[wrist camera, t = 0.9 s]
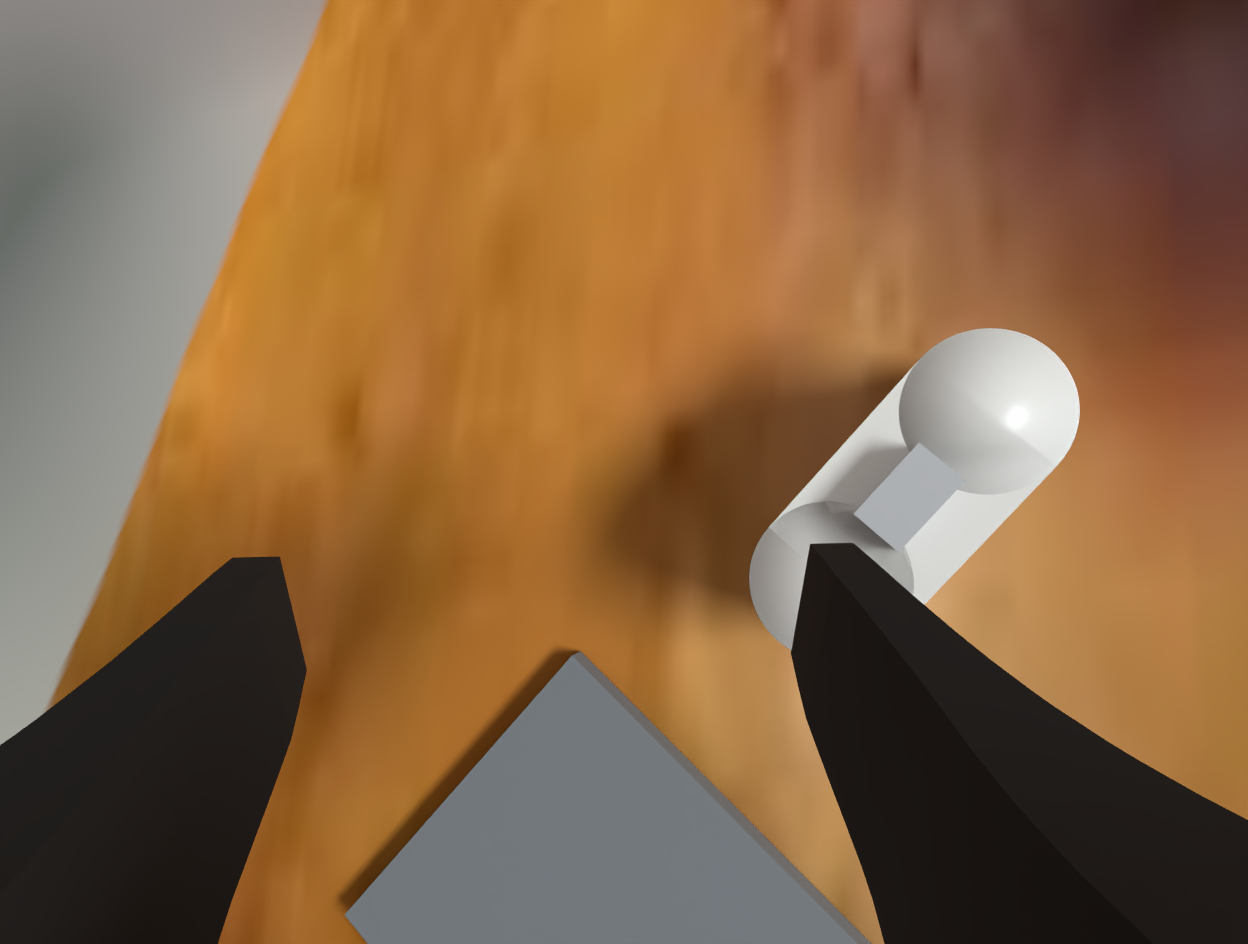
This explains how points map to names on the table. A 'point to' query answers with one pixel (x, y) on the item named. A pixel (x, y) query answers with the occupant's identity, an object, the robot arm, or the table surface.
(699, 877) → the slate mat
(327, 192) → the table surface
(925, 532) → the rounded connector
